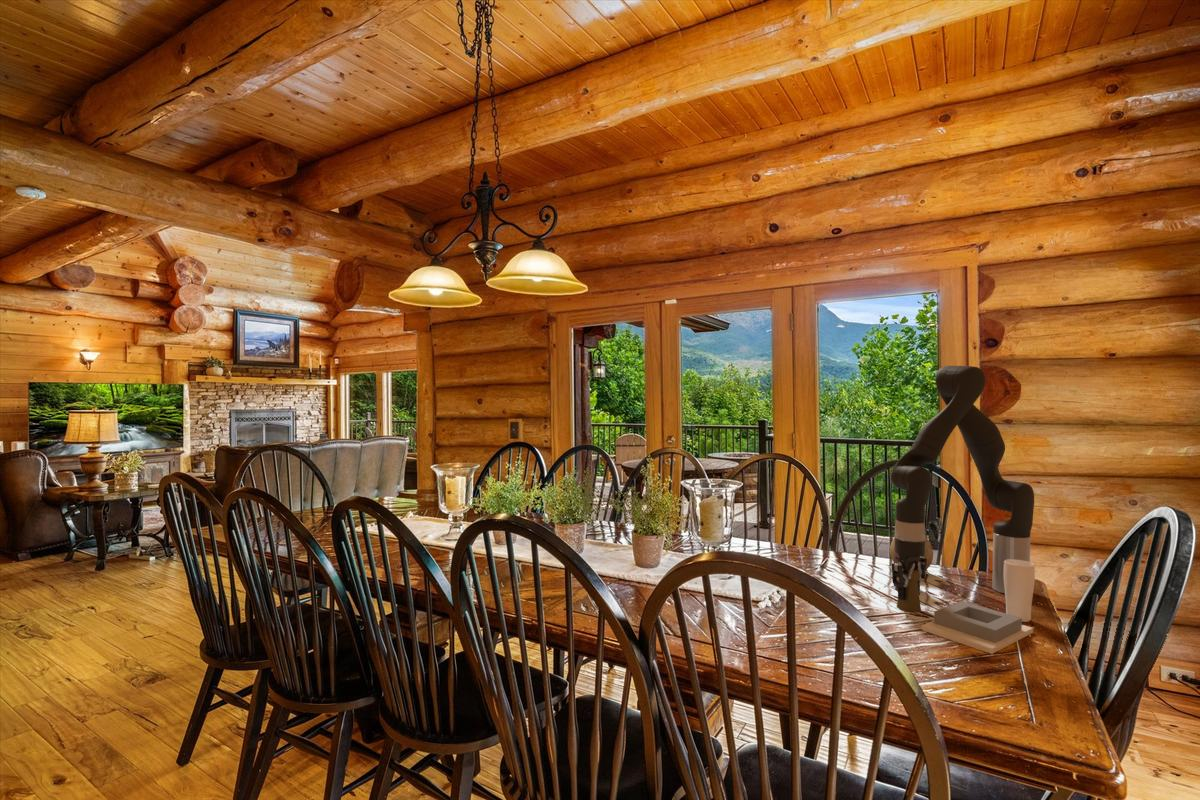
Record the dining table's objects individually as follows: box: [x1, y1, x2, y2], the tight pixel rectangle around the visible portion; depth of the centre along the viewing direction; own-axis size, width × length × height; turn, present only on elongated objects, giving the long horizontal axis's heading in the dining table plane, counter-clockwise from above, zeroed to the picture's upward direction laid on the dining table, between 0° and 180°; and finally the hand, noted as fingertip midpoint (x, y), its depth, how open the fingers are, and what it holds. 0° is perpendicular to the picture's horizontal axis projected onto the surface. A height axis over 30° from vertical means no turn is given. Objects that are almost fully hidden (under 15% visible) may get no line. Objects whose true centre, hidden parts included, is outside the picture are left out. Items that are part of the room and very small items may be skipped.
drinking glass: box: [1004, 559, 1036, 623], centre depth 157 cm, size 7×7×15 cm
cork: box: [896, 570, 922, 613], centre depth 164 cm, size 6×6×11 cm
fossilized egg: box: [889, 535, 934, 572], centre depth 196 cm, size 13×13×15 cm
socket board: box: [921, 600, 1034, 655], centre depth 148 cm, size 22×16×4 cm
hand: (908, 597), depth 164 cm, fingers open, 6 cm apart
